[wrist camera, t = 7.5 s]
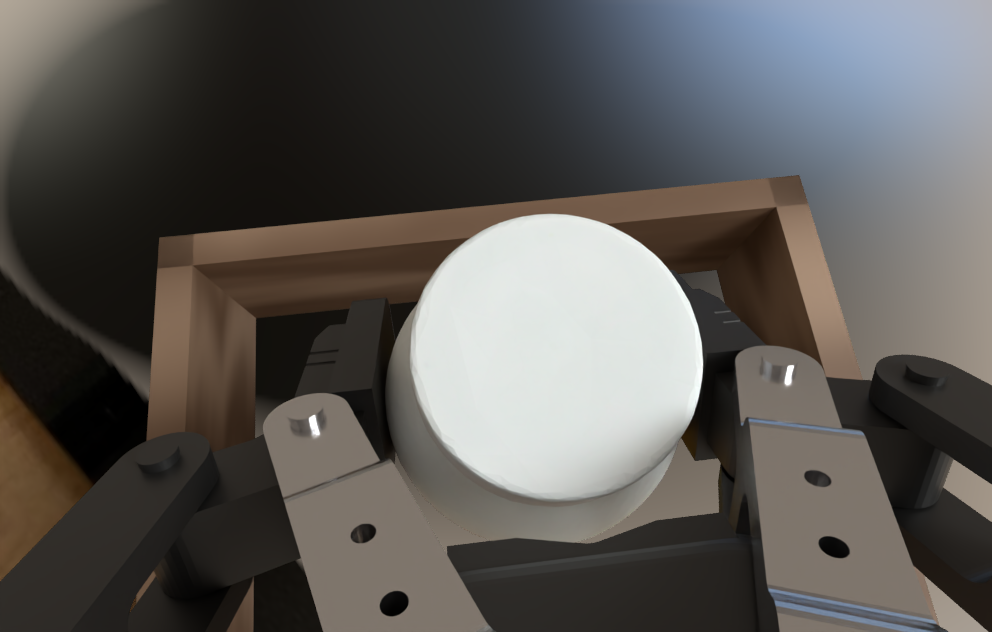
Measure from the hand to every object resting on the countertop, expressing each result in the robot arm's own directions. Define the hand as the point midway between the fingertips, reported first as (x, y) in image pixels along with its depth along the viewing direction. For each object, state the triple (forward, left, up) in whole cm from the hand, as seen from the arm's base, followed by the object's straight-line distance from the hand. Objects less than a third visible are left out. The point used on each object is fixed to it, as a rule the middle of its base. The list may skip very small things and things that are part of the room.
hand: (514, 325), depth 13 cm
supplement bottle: (+1, -1, -5) cm, 5 cm away
